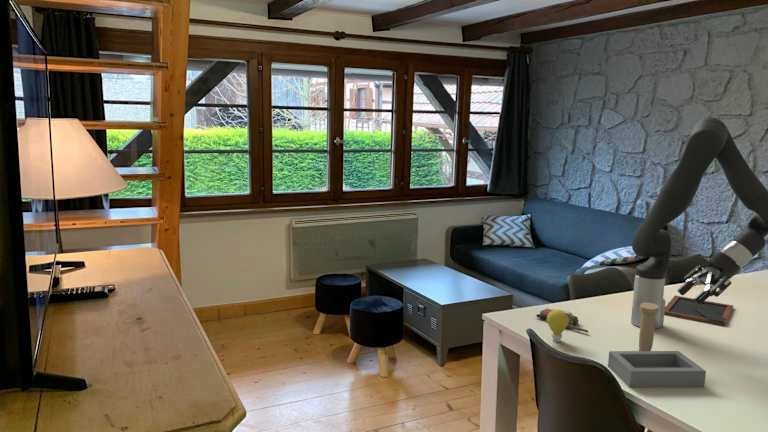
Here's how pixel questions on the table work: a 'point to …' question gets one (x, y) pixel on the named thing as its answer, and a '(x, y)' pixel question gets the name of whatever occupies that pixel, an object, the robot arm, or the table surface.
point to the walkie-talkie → (572, 319)
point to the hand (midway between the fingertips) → (688, 297)
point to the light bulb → (557, 323)
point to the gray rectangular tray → (656, 369)
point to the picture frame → (699, 310)
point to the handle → (647, 326)
